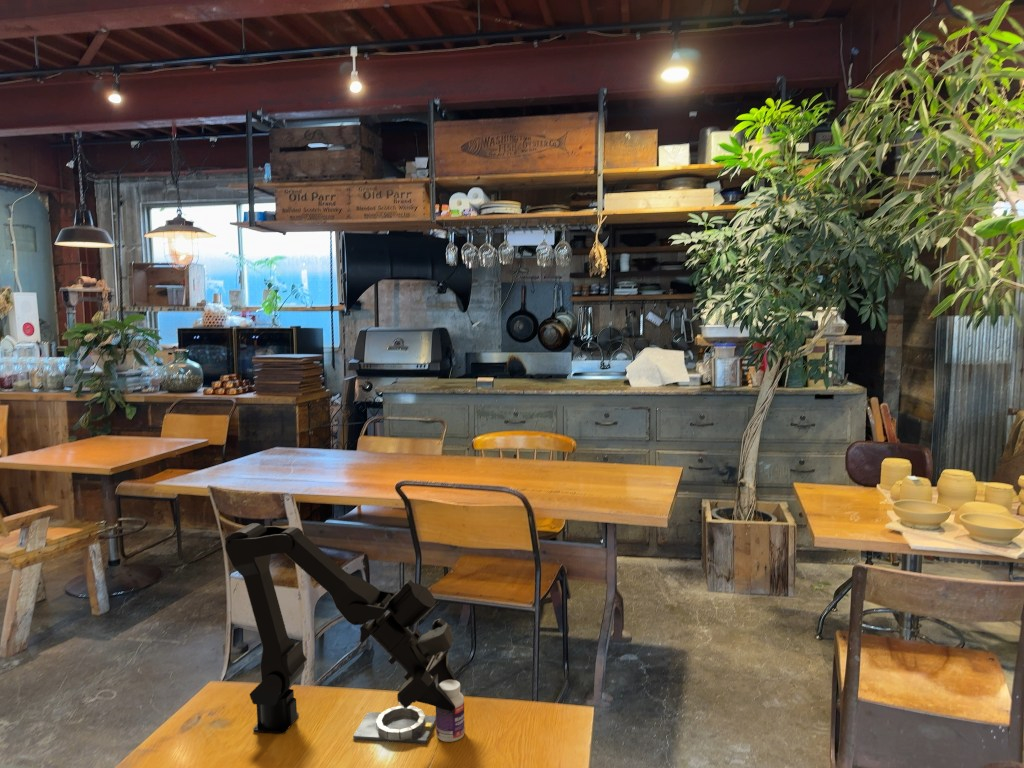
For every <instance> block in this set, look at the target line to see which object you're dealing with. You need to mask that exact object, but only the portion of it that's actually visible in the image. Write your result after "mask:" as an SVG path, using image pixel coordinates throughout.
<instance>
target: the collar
mask: <svg viewBox="0 0 1024 768" xmlns="http://www.w3.org/2000/svg"><path fill="white" fill-rule="evenodd" d="M379 713H380V714H379V716H378V718H377V720H376V729H377V732H378V735H379V736H381V737H383V738H385V739H388V740H404V739H408V738H412V737H414V736H415V735H417V734H418V733H420V732H421V731H422V730H423V728H425V729H429V730H431V728H432V723H426V724H425V713H424V711H423V710H422V709H421V708H418V707H417V706H414V705H409V706H408V707H407V708H406V709H404V708H403V707H402V706H401V704H399V705H397V706H392V707H389V708H387V709H385V710H384V711H382V712H379ZM401 715H404V716H412V717H414V718H416V719H418V722H417V723H415V724H414V725H412V726H411V727H408V728H404V729H390V728H388V727H386V726H384V725H383V724H384V723H385V722H386V721H387V720H389V719H391V718H393V717H397V716H401Z"/></svg>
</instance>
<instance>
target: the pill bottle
mask: <svg viewBox="0 0 1024 768" xmlns="http://www.w3.org/2000/svg"><path fill="white" fill-rule="evenodd" d="M456 680H457V679H456ZM456 680H445V681H442V682H441V683H440V684H439V686H440V687H441V688H442V690H443V691H444V692H445V693H446V695H447V696H448V697H449V698H450V700H451V701H452V702H453V704H454V705H455V709H454V710H453V711H448V710H445V709H442V708H439V707H436V706H435V716H436V723H435V734H436V737H437V739H439V740H441V741H442V742H447V743H450V742H456V741H458V740H460V739H462V738H463V737H464V735H465V730H466V727H465V696H464V695H463V692H460V688H461V683H460V681H458V680H457V681H456Z"/></svg>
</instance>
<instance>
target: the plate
mask: <svg viewBox="0 0 1024 768" xmlns="http://www.w3.org/2000/svg"><path fill="white" fill-rule="evenodd" d="M380 713H381V712H374V711H367V713H366V714H365V715H364V718H363V719H362V720H361V723H360V724H359V725H358V727H357V728H356V730H355V732H354V733H353V736H352V740H353V741H364V742H365V741H367V742H382V743H398V744H413V745H415V744H416V745H427V744H428V742H429V740H430V736H431V735H432V732H433V729H434V727H435V726H436V715H427V714H426V715H425V714H424V715H425V724H426V723H432V728H431V730H429V729H425V728H423V730H422V731H421V732H420V733H418V734H417V735H415V736H414V737H412V738H408V739H404V740H388V739H385V738H383V737H381V736H379V735H378V732H377V729H376V720H377V718H378V716H379V714H380ZM417 722H418V719H416V718H414V717H412V716H404V715H401V716H397V717H393V718H391V719H389V720H387V721H386V722H385V723H384V724H383V725H384V726H386V727H388V728H390V729H404V728H408V727H411V726H412V725H414V724H415V723H417Z"/></svg>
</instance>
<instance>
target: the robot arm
mask: <svg viewBox="0 0 1024 768" xmlns="http://www.w3.org/2000/svg"><path fill="white" fill-rule="evenodd" d="M224 550H225V552H226V555H227V557H228V559H229V561H230V564H231V566H232V567H233V568H234V569H235V571H237V572H238V573H239V575H241V577H242V578H243V581H244V584H245V588H246V592H247V595H248V599H249V603H250V606H251V610H252V613H253V617H254V621H255V624H256V625H255V626H256V628H257V631H258V636H259V639H260V642H261V646H262V649H261V650H262V651H261V656H260V657H261V658H260V664H259V669H260V671H259V672H260V679H261V680H260V681H261V682H259V684H257V686H256V687H254V688H253V690H251V692H250V693H249V697H250V700H251V703H252V704H253V705H255V706H256V720H257V721H256V722H257V723H256V725H255V726H254V727H253V729H252V730H253V731H252V732H255V733H268V734H269V733H270V734H286V732H287V731H288V730H289V729H290V728H291V726H292V725H293V724H294V722H295V721H296V720H297V718H299V715H300V714H299V712H298V711H297V706H298V705H297V698H296V697H295V695H294V693H295V691H294V690H295V689H292V687H293V685H295V684H296V682H297V680H298V679H299V678H300V677H301V676H302V675H303V672H304V670H305V668H306V667H305V666H306V665H305V663H306V661H307V660H308V659H307V657H306V656H305V654H304V648H303V644H302V641H298V642H293V640H292V639H290V637H289V636H288V633H287V629H286V624H285V621H284V617H283V614H282V610H281V607H280V603H279V598H278V595H277V592H276V589H275V585H274V581H273V578H272V573H271V569H270V564H271V557H272V555H274V554H284V555H285V556H287V557H288V558H289V559H290V560H291V561H292V562H293V563H294V564H296V565H297V566H298V567H299V568H300V569H301V570H302V571H303V572H305V573H306V574H307V575H308V576H309V577H310V578H312V580H314V581H315V582H316V583H317V584H318V585H319V586H320V587H321V588H323V589H324V590H325V591H326V592H327V593H328V594H329V595H330V597H331V598H332V601H333V603H334V606H335V608H336V609H337V610H338V612H339V613H340V615H342V617H343V618H344V619H345V620H346V622H348V623H349V624H351V625H353V626H360V627H359V630H360V638H359V641H360V642H359V643H362V644H363V643H364V642H366V641H367V639H369V637H371V638H372V639H373V640H374V641H375V642H376V643H377V644H378V645H379V646H380V648H381V649H382V650H384V651H385V652H386V654H387V655H389V656H390V657H389V659H388V662H389V664H391V665H394V663H396V664H397V665H399V667H400V668H401V669H402V670H403V671H404V672H405V674H404V676H403V678H404V679H405V680H406V681H405V682H404V683H403V684H402V686H401V688H400V689H399V690H398V692H397V698H396V699H397V702H398V704H399V705H401V706H402V707H403V708H404V709H406V708H407V707H408V706H412V704H413V703H414V704H415V703H416V702H417V703H421V704H425V705H430V706H433V707H435V708H436V707H439V708H442V709H445V710H448V711H453V710H454V709H455V705H454V704H453V702H452V701H451V700H450V698H449V697H448V696H447V695H446V693H445V692H444V691H443V690H442V688H441V687H440V686H439V684H440V683H441V682H442V681H445V680H456V681H458V680H457V678H456V676H455V675H454V673H453V670H452V669H451V666H450V664H449V656H450V649H451V648H452V644H453V642H454V641H455V637H454V636H453V633H452V630H453V627H452V625H450V624H449V623H448V622H446V621H445V620H444V619H443V618H441V617H440V618H438V619H434V621H433V622H432V625H431V629H428V632H426V633H424V634H423V633H422V632H421V631H420V630H417V629H415V630H413V632H412V630H411V629H409V628H410V627H411V628H413V627H414V626H416V625H417V624H418V623H419V622H420V621H421V620H422V619H423V618H424V617H425V616H426V615H427V614H428V613H429V612H430V611H431V610H432V609H433V608H434V607H435V606H436V600H435V597H434V596H433V594H432V592H431V591H430V590H429V588H427V587H426V586H424V585H422V584H420V583H418V582H413V581H412V579H408V580H407V581H406V582H405V583H404V584H403V585H402V587H401V588H400V589H399V590H398V591H397V592H395V591H394V592H393V591H388V590H384V589H379V588H377V587H376V586H374V585H373V584H372V583H370V582H368V581H367V580H365V579H363V578H361V577H358V576H355V575H351V574H350V573H348V572H346V571H345V570H344V569H343V568H342V567H341V566H339V564H337V562H335V560H333V559H332V558H331V557H330V556H328V555H327V554H326V552H324V551H323V549H321V548H319V547H318V546H317V545H316V544H315V543H314V542H313V541H311V540H310V539H309V538H308V537H307V536H306V535H305V534H304V532H303V531H302V529H301V528H299V527H295V526H290V527H285V526H279V525H269V526H268V525H267V526H264V525H263V524H261V523H258V522H255V523H254V522H252V523H250V524H247V525H246V526H243V527H242V528H240V529H238V530H236V531H235V532H233V533H231V534H230V535H229V536H228V537H227V540H226V541H225V543H224ZM387 611H388V612H387ZM386 612H387V613H386ZM369 621H370V622H369ZM462 691H463V690H462V687H460V692H461V693H463V692H462Z"/></svg>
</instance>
